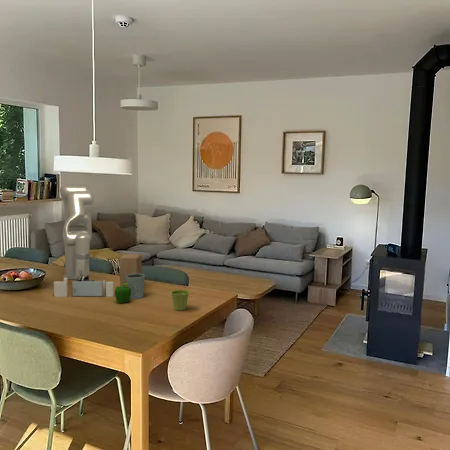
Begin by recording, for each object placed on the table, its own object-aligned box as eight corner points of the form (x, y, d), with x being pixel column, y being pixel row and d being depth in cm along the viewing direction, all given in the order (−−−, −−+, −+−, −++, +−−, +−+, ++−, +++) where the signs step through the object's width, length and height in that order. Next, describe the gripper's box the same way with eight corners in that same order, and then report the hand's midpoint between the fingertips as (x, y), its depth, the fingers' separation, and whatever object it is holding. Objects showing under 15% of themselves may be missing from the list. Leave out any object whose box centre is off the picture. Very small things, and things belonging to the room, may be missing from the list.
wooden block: (142, 287, 263) (141, 254, 260) (137, 292, 253) (136, 257, 251) (125, 287, 264) (125, 253, 261) (120, 291, 254) (119, 257, 252)
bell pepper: (111, 303, 233) (110, 284, 232) (121, 298, 240) (120, 280, 239) (124, 305, 229) (123, 286, 228) (134, 301, 237) (133, 282, 235)
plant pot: (168, 307, 227) (168, 290, 226) (186, 305, 231) (186, 288, 229) (173, 312, 218) (173, 295, 217) (191, 310, 222) (191, 293, 221)
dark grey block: (77, 290, 256) (77, 279, 255) (94, 290, 256) (94, 279, 255) (72, 293, 249) (72, 282, 248) (90, 294, 249) (90, 282, 248)
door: (102, 295, 245) (102, 281, 244) (101, 296, 242) (100, 282, 241) (73, 295, 244) (73, 281, 243) (71, 296, 242) (71, 282, 241)
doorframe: (55, 295, 245) (54, 277, 243) (113, 296, 245) (113, 278, 244) (54, 296, 243) (53, 278, 242) (113, 296, 244) (112, 279, 242)
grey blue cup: (126, 299, 239) (125, 277, 237) (126, 294, 249) (125, 273, 247) (145, 298, 241) (145, 277, 239) (144, 293, 251) (144, 272, 249)
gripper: (80, 253, 258) (81, 282, 260) (71, 259, 241) (72, 290, 243) (93, 253, 258) (94, 282, 260) (85, 259, 241) (86, 290, 243)
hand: (83, 286), depth 252 cm, fingers open, 9 cm apart
